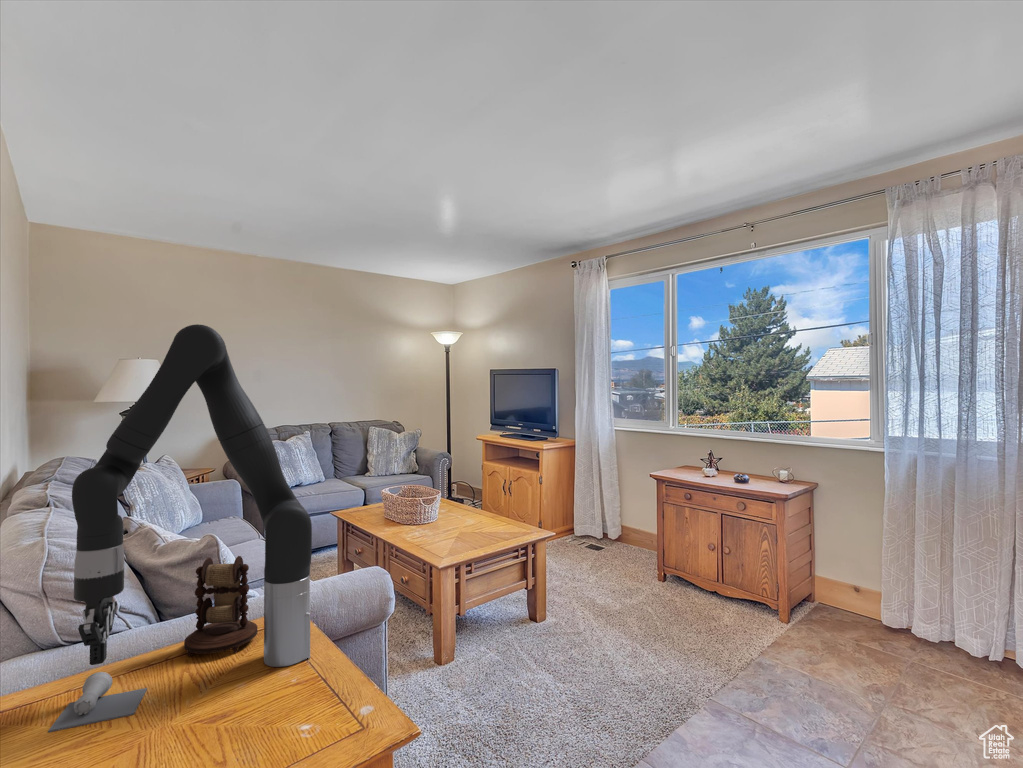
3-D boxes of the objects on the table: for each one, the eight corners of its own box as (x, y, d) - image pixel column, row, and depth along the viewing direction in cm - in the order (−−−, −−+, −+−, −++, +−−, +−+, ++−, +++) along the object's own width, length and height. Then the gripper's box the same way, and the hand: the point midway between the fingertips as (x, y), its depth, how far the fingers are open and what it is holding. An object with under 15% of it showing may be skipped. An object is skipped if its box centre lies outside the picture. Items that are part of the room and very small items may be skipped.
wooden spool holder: (266, 628, 126) (266, 547, 127) (243, 657, 112) (244, 565, 113) (202, 633, 124) (203, 550, 125) (170, 663, 110) (171, 569, 111)
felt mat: (147, 689, 100) (147, 687, 100) (133, 714, 91) (133, 712, 91) (69, 704, 95) (69, 702, 95) (48, 732, 87) (48, 730, 87)
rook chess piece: (102, 697, 98) (86, 724, 91) (78, 688, 96) (60, 715, 89) (119, 676, 99) (104, 701, 91) (95, 666, 97) (79, 691, 90)
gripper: (112, 577, 93) (110, 674, 93) (133, 558, 106) (132, 644, 105) (60, 584, 91) (58, 684, 90) (88, 563, 103) (86, 651, 102)
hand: (98, 662), depth 97 cm, fingers closed
